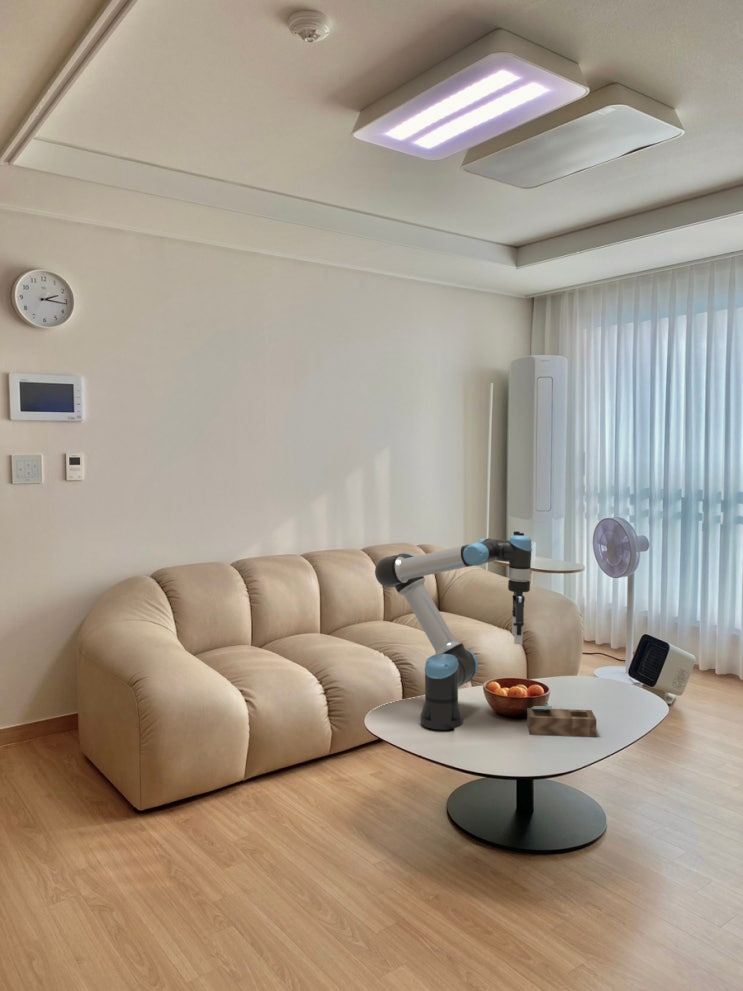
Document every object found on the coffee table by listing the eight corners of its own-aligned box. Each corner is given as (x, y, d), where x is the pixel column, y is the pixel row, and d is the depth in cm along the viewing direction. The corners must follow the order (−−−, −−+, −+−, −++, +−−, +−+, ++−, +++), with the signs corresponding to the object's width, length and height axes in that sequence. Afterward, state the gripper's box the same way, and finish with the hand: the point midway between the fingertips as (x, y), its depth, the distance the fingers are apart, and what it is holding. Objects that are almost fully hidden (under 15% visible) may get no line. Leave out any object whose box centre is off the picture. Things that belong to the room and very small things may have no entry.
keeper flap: (531, 709, 275) (533, 708, 268) (531, 706, 276) (533, 705, 269) (550, 710, 275) (552, 709, 268) (550, 707, 275) (552, 706, 268)
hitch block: (529, 734, 268) (529, 717, 267) (527, 724, 277) (527, 708, 277) (596, 737, 265) (596, 719, 265) (591, 727, 275) (591, 710, 275)
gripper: (533, 586, 265) (530, 648, 266) (527, 574, 290) (524, 631, 291) (510, 585, 266) (508, 647, 267) (506, 573, 290) (504, 630, 292)
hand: (516, 639), depth 279 cm, fingers open, 13 cm apart
